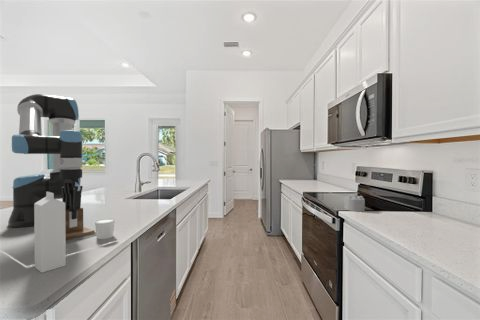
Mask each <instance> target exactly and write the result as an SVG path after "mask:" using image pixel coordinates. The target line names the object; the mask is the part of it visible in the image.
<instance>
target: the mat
mask: <svg viewBox="0 0 480 320" xmlns="http://www.w3.org/2000/svg"><path fill="white" fill-rule="evenodd" d="M94 237H97V235H96V231H94V234H90V235H86V236H82V237H78V238H74V239H69V240H66V245H67V244H70V243H75V242H79V241H82V240H86V239H90V238H94Z"/></svg>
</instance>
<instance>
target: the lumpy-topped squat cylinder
mask: <svg viewBox="0 0 480 320" xmlns="http://www.w3.org/2000/svg"><path fill="white" fill-rule="evenodd" d="M365 207H366V200H365V198H364V196H363V195H356V194H348V195H345V196H344V209H345V210H348V211H351V212H356V213H359V212H360V213H361V212H362V213H363V212H365V211H366V210H365Z"/></svg>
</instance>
